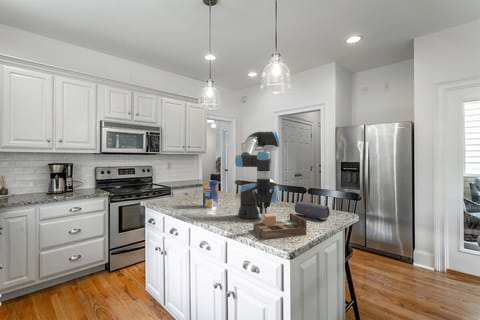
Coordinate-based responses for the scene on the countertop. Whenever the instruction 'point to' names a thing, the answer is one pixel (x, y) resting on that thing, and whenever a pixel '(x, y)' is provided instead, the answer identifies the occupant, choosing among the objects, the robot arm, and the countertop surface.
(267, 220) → the block
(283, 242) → the countertop surface
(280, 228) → the box
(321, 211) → the bluetooth speaker
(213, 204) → the beverage box
